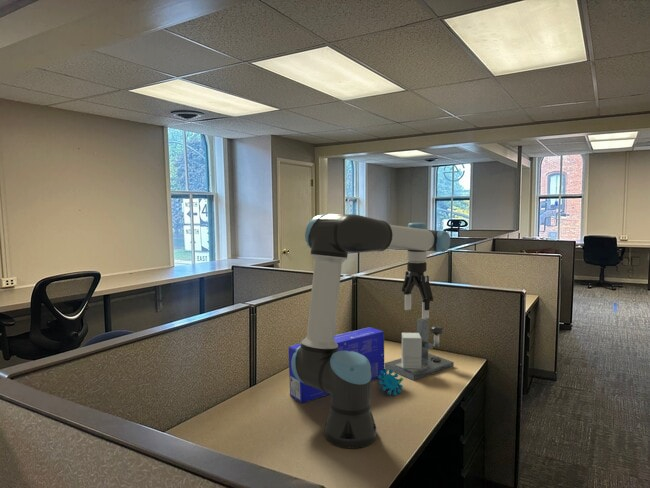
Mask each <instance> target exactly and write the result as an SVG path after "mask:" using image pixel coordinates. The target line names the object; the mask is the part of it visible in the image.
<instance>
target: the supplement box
mask: <svg viewBox="0 0 650 488" xmlns="http://www.w3.org/2000/svg"><path fill="white" fill-rule="evenodd" d="M421 352H422V338H421V336H420V334H419V333H417V332H401V357H400V358H401V361H402V365H403V368H410V369H421Z"/></svg>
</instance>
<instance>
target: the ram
mask: <svg viewBox="0 0 650 488" xmlns="http://www.w3.org/2000/svg"><path fill="white" fill-rule="evenodd" d="M443 330H444V327H443V326H440V325H432V326H430V330H429V331H430V333H431V334H433V342H432V344H433V348H434V347H435V348H439V347H440V334H443Z"/></svg>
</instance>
